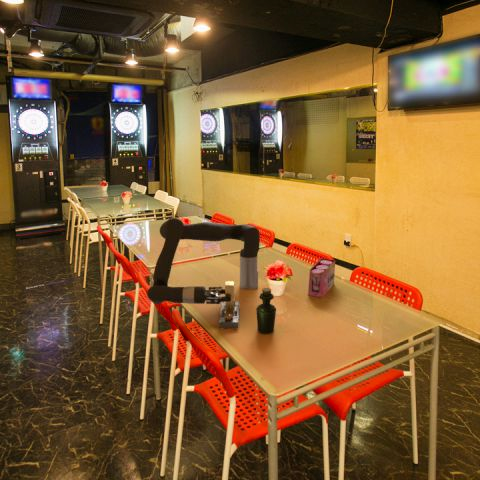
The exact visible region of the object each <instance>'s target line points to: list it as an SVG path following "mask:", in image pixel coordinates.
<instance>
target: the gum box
mask: <svg viewBox="0 0 480 480" xmlns="http://www.w3.org/2000/svg"><path fill="white" fill-rule="evenodd" d="M335 270H336V259H329V258H327V259H326V258H321V259H319V260H318V261H317V262H316V263H315V264H314V265H313V266H312V267H311V268H310V269H309V275H308V276H309V277H308V279H309V280H308V289H307V291H308V293H307V295H308V296H312V297H318V298H324V297H325V296H326V295H327V293H328V292H329V291H330V289H332V287H333V286H334V284H335V274H336V273H335Z"/></svg>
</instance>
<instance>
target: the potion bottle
mask: <svg viewBox="0 0 480 480" xmlns="http://www.w3.org/2000/svg"><path fill="white" fill-rule="evenodd" d="M258 298H259V299H260V300H261V302H262V303H260V304H258V305H257V306H256V309H255V310H256V312H255V313H256V323H257V331H258V332H259V333H260V334H262V335H263V334H264V335H270V334H272V333H273V332H274V331H275V324H276V323H275V322H276V315H277V308H276V307H275V305H273V304H272V303H271V301H272V300H274V298H275V297H274V295H273V293H272V289H271V288H270V287H263V288H262V289H261V293H260V295H259V297H258Z"/></svg>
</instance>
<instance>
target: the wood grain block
mask: <svg viewBox="0 0 480 480" xmlns="http://www.w3.org/2000/svg"><path fill="white" fill-rule="evenodd" d="M224 287H225V288H224V289H225V294H224V295H225V296H230V297H231V301H230V302H225V313H226V314H228V313H230V314H234V298H235V281H233V280H231V281H229V280H228V281H227V280H226V281H225V284H224Z"/></svg>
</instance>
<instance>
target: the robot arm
mask: <svg viewBox="0 0 480 480" xmlns="http://www.w3.org/2000/svg"><path fill="white" fill-rule="evenodd" d="M159 227H160V228H159V235H160V236H161V237H162V238H163V239H165V240H164V243H163V245H162V249H161V251H160V254H159V255H158V258H157V260H156V263H155V265H154V271H153V274H152V279H153V283H152V286H150V287H149V288H148V289H147V292H146V295H147V296H146V297H148V300H149V301H150V302H152V303H153V304H155V305H161V304H162V303H164V302H170V303H173V304H189V305H191V304H192V305H194V304H195V305H199V304H200V305H201V304H202V305H203V304H205V305H207V304H208V305H221V304H222V302H230V301H231V297H230V296H224V295H225V288H223V286H209V287H208V289H206V287H205V286H195V285H194V286H193V285H191V286H190V285H189V286H168V285H169V279H170V276H171V271H172V266H173V263H174V262H173V261H174V258H175V256H176V255H175V254H176V252H177V248H178V246H179V243H180V241H181V240H193V241H203V242H221V241H225V240H236V241H241V242H242V243H243V248H241V249H240V251H239V288H241V289H242V290H254V289H258V288H259V270H258V253H259V251H260V242H261V240H260V239H261V234H260V230H259V228H258V227H255V226H253V225H251V224H226V223H218V222H209V221H206V222H204V221H203V222H197V223H192V224H185V223H184V222H183V221H182V220H181V219H180V218H179V217H171V218H169V219H168V220H165V221H164V222H163V223H162V224H161V226H159ZM221 295H222V296H221Z"/></svg>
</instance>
